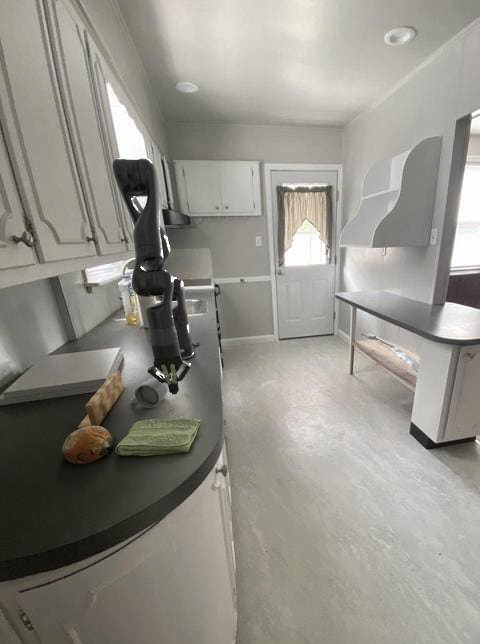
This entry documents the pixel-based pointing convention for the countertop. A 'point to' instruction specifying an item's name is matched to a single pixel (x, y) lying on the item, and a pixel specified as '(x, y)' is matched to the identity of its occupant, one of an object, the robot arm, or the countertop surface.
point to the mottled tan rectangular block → (103, 400)
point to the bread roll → (87, 444)
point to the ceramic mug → (150, 393)
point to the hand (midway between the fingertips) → (174, 393)
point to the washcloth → (159, 437)
